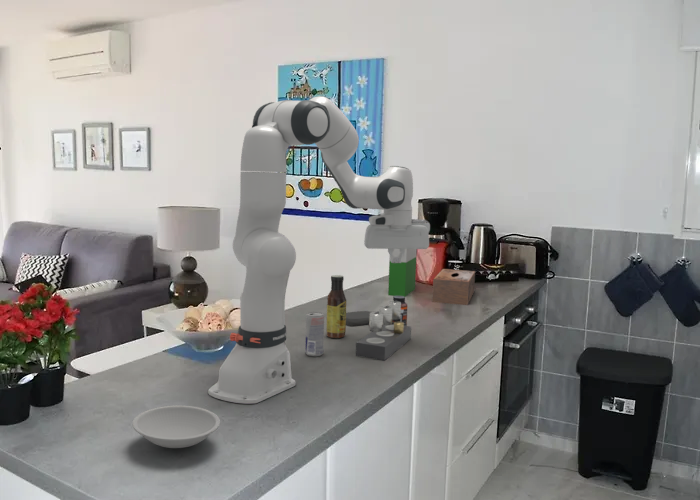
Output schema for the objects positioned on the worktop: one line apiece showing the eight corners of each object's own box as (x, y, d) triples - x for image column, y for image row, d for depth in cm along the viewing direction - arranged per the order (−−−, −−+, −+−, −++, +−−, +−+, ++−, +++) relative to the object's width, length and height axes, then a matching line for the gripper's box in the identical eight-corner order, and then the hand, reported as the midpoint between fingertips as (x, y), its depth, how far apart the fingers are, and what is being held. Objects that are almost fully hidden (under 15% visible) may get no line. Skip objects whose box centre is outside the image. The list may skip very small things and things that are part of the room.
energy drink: (315, 349, 173) (315, 310, 172) (327, 354, 170) (328, 314, 168) (301, 353, 170) (302, 313, 168) (313, 357, 166) (314, 317, 164)
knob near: (379, 332, 167) (380, 315, 166) (366, 330, 168) (367, 313, 168) (384, 329, 170) (385, 312, 170) (372, 327, 172) (372, 310, 171)
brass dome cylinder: (401, 334, 178) (401, 324, 177) (392, 332, 179) (392, 323, 178) (404, 331, 180) (405, 322, 180) (395, 330, 182) (395, 321, 181)
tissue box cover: (467, 305, 235) (468, 281, 234) (432, 302, 239) (433, 278, 238) (473, 293, 259) (475, 271, 258) (441, 290, 264) (442, 268, 262)
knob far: (398, 320, 181) (398, 303, 181) (386, 318, 183) (386, 302, 182) (402, 317, 185) (402, 301, 184) (390, 315, 187) (390, 299, 186)
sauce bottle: (343, 339, 184) (344, 278, 181) (324, 338, 185) (325, 277, 182) (347, 334, 190) (348, 274, 187) (329, 332, 191) (330, 273, 189)
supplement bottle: (405, 331, 195) (406, 299, 193) (388, 330, 196) (389, 297, 194) (407, 327, 200) (408, 295, 199) (390, 325, 201) (391, 294, 200)
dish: (114, 451, 110) (113, 426, 109) (168, 421, 123) (167, 399, 122) (187, 473, 103) (187, 447, 102) (236, 440, 115) (236, 416, 115)
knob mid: (389, 326, 174) (389, 309, 173) (376, 324, 176) (377, 307, 175) (393, 323, 178) (394, 306, 177) (381, 321, 179) (382, 304, 179)
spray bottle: (334, 321, 208) (389, 314, 220) (350, 328, 198) (407, 321, 211) (334, 313, 207) (390, 306, 220) (350, 320, 198) (407, 313, 211)
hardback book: (399, 287, 266) (401, 236, 263) (414, 289, 264) (417, 237, 260) (388, 295, 250) (390, 240, 246) (404, 297, 247) (406, 241, 244)
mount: (384, 360, 165) (385, 346, 164) (355, 355, 169) (356, 341, 168) (410, 338, 187) (411, 326, 186) (384, 334, 190) (385, 322, 190)
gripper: (427, 218, 184) (425, 261, 186) (364, 217, 181) (363, 261, 183) (432, 220, 178) (430, 264, 179) (366, 219, 175) (365, 264, 177)
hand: (396, 262), depth 181 cm, fingers closed
